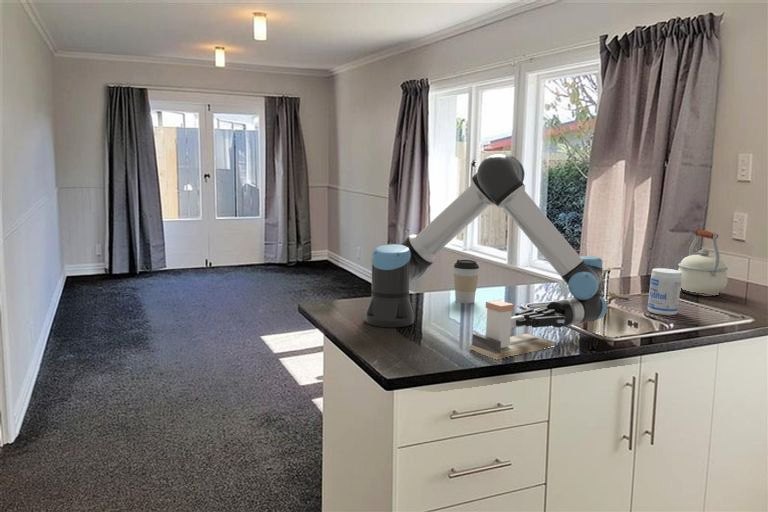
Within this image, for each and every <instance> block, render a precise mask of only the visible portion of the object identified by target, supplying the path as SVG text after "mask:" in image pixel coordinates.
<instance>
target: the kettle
mask: <svg viewBox="0 0 768 512" xmlns="http://www.w3.org/2000/svg"><path fill="white" fill-rule="evenodd" d="M699 237H702V238H706V239H711V240H712V247H713V251H714V254H715V255H714V256H713V255H709V254H710V251H709V250H708V249H707V248H705V247H703V248H702V249H700V250H699V251H698V253H699V254H693V253H694V248H695V246H696V244H697V242H698V240H699ZM718 237H719V235H718V233H716V232H711V231H708V230H705V229H704V230H703V229H700V228H695V230H694V240H693V241H692V242H691V245H690V247H689V253H688V255H687V256H686V257H684V258H683V259H682V260H681V261H680V262H679V263H678V264H677V265H678V271H681V272H682V275H681V276H682V279H681V288H682V289H683V290H686V291H690V292H696V293H706V294H716V293H719V292H720V293H721V292H722V291H723V290H724V289H725V288H726V287H727V285H728V274H727V271H728V270H729V269H728V267H727V266H726V264H725V262H724V261H723V260H722V259H721V258H720V257H721V256H720V253H719V248H718V244H717V240H718ZM681 288H680V289H681Z"/></svg>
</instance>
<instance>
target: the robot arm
mask: <svg viewBox="0 0 768 512" xmlns="http://www.w3.org/2000/svg"><path fill="white" fill-rule="evenodd" d="M524 180H525V169H524V166H523V164H522V162H521V161H520V160H519V159H518V158H516V157H515V156H513V155H510V154H493V155H490V156H487V157H486V158H484V159H483V160H482V161H481V163H479V166H478V169H477V171H476V173H475V174H474V175H473V176H472V177H471V179H470V181H471V182H470V185H469V186H468V187H467V188H466V189H464V191H463V192H462V193H460V195H458V196H457V198H455V199H454V200H453V201H452V202H451V203H450V204H449V205H447V207H446V208H445V209H443V211H442V212H440V213H439V214H438V215H437V216H436V217H435V218H434V219H432V221H431V222H430V223H428V224H427V225H426V226H425V227H424V228H423V229H422V230H421V231H420V232H418V234H410V235H409V236H408V237H407V238H405V239H404V240H403V241H402V242H401V243H400V244H393V243H392V244H390V243H389V244H386V245H380V246H377V247H376V248H374V249H373V251H372V255H371V256H372V257H371V296H370V297H371V298H370V300H369V303H368V306H367V308H366V311H365V316H364V317H365V323H366V324H368V325H371V326H375V327H379V328H403V327H409V326H411V325H413V324H414V322H415V314H414V311H413V307H412V303H411V300H410V282H411V281H413V280H416V279H418V278H420V277H421V276H423V275H424V273H425V272H426V271H427V269H428V268H430V266H432V264H434V263H435V261H436V255H437V254H438V253H439V252H440V251H441V250H442V249H443V248H444V247H445V246H447V245H448V244H449V243H450V242H452V240H453V239H454V238H456V237H457V236H458V235H459V234H460V233H461V232H462V231H463V230H464V229H466V228H467V227H468V225H470V224H471V223H472V222H473V221H475V219H476V218H478V217H479V216H480V215H481V214H483V212H484V211H485V210H486V209H488V208H489V207H490V206H494V207H495V206H496V207H498V208H499V209H504V211H505V212H507V214H508V216H509V217H510V218H511V219H512V221H514V222H515V223H516V225H517V226H518V227H519V228H520V229H521V231H522V232H523V233H524V235H526V236H527V238H528V239H529V241H531V243H532V244H533V245H534V246H535V248H536V249H537V250H538V251H539V252H540V254H541V255H542V256H543V257H544V258H545V259H546V260H547V262H548V263H549V264H550V265H551V267H552V268H553V269H554V270H555V272H556V273H557V274H558V275H559V277H561V279H562V280H563V281H564V283H565V284H566V285H567V287H568V290H569V293H570V294H571V295H572V296H573V297H572V298H571V297H570V298H566V299H565V298H564V299H561V300H555V301H551V302H549V303H548V304H547V306H546V307H542V308H540V309H536V310H535V308H533V307H532V306H530V307H528V308H525V309H523V310H521V311H517V312H514V314H515V315H513V316H511V329H514V328H516V329H517V328H521V327H531V328H533V329H535V328H545V327H553V328H556V329H557V328H564V327H568V328H570V327H572V325H577V324H583V323H592V322H594V321H597V320H598V321H599V320H601V319H602V318H603V317H604V316H605V315H606V314H607V310H608V307H607V306H608V305H607V304H606V300H605V298H604V297H602V296H601V294H600V293H601V289H602V288H601V287H602V278H603V269H604V267H603V259H602V258H601V257H598V256H594V255H593V256H591V255H579V254H578V252H577V251H576V250H575V249H574V248H573V247H572V245H571V244H570V243H569V242H568V241H567V239H566V238H565V237H564V235H562V233H561V232H560V231H559V230H558V229H557V227H556V226H555V225H554V223H552V221H551V220H550V219H549V218H548V217H547V215H546V214H545V213H544V212H543V211H542V209H541V208H540V207H539V206H538V205H537V204H536V202H535V201H534V200H533V198H531V196H530V195H529V194H528V193H527V191H526V185H525V184H524Z"/></svg>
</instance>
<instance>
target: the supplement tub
mask: <svg viewBox="0 0 768 512" xmlns="http://www.w3.org/2000/svg"><path fill="white" fill-rule="evenodd" d="M681 275H682V272H681V271H678V270H677V269H671V268H664V267H663V268H660V267H659V268H658V267H657V268H652V270H651V274H650V281H649V282H650V284H649V293H648V301H647V311H648V312H650V313H653V314H655V315H664V316H675V315H677V313H678V312H679V303H680V295H681V279H682V276H681Z"/></svg>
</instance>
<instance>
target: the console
mask: <svg viewBox="0 0 768 512" xmlns="http://www.w3.org/2000/svg"><path fill="white" fill-rule="evenodd" d="M471 340H472V341H471V344H470V347H469V350H470V349H471V350H474V351H476V352H475V353H477V352H479V353H481V354H480V355H482V354H483V355H482V356H484V355H486V356H485V357H487V356H488V357H487V358H490V357H491V358H490V359H492V358H493V359H492V360H495V359H496V360H495V361H498V360H497V359H499V360H502V359H501V358H504V359H506V358H505V357H508V358H510V357H509V356H513V355H518V356H520V355H519V354H522V355H526V354H525V353H527V354H530V353H529V352H531V353H535V352H534V351H536V352H538V350H540V351H543V350H542V349H544V348H548V347H551V346H556V342H555V341H552V340H549V339H547V338H543V337H540V336H537V335H535V334H531V333H523V334H517V335H512V336H511V335H510V346H509V347H504V348H501V341H498V340H495V339H492V338H489V337H486V335H483V334H481V333H478V332H477V333H472V339H471ZM471 350H470V351H471ZM474 351H473V352H474ZM479 353H478V354H479ZM513 357H514V356H513Z"/></svg>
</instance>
